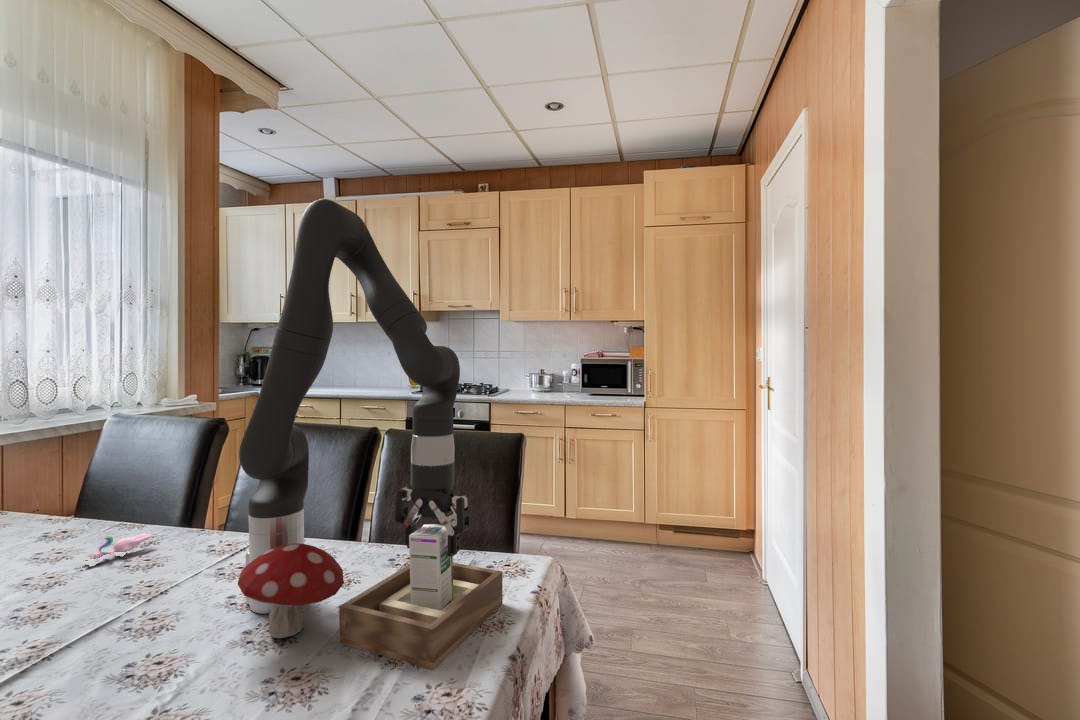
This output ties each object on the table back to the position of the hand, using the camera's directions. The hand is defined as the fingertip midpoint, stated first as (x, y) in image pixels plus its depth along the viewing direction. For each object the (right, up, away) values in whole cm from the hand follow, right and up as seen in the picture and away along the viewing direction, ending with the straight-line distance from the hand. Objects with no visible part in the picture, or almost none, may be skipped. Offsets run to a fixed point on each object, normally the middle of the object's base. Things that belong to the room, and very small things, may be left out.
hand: (432, 551), depth 92 cm
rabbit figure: (-78, -12, +28) cm, 83 cm away
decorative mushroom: (-22, -12, -5) cm, 26 cm away
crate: (-1, -12, -2) cm, 12 cm away
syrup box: (0, -11, 0) cm, 11 cm away
